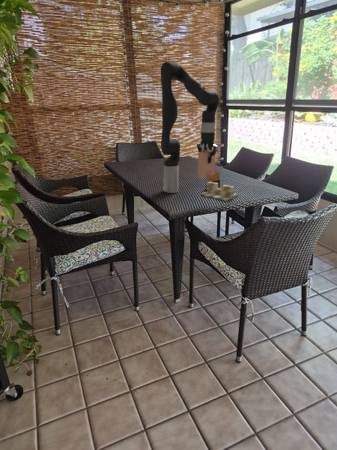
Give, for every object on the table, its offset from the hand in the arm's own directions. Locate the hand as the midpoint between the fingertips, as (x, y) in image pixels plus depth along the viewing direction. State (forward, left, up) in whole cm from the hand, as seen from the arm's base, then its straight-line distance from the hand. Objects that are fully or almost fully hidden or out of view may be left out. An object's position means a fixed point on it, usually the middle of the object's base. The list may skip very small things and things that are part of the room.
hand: (206, 162), depth 175 cm
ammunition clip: (-13, +26, -23) cm, 37 cm away
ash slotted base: (0, +15, -23) cm, 27 cm away
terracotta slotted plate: (0, 0, -8) cm, 8 cm away
